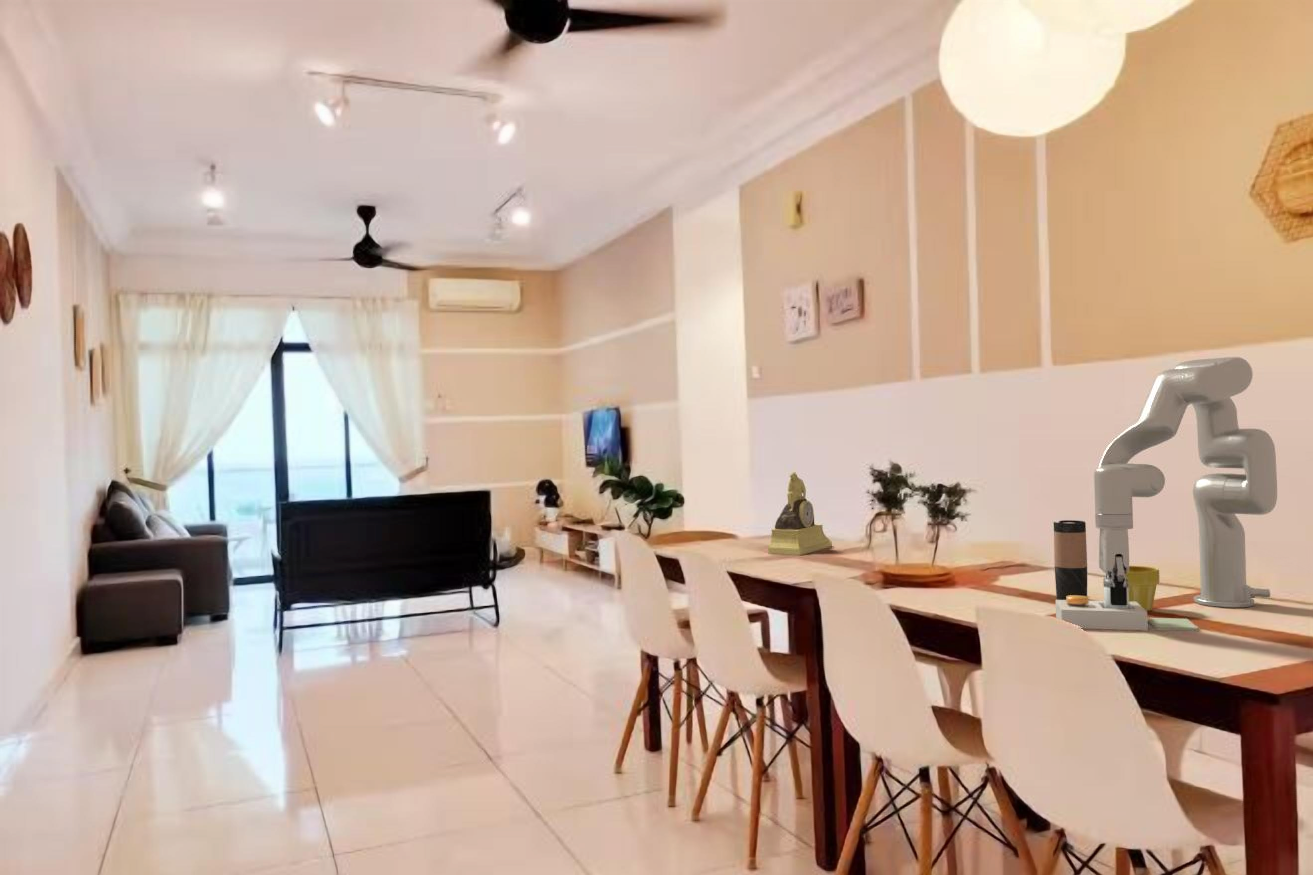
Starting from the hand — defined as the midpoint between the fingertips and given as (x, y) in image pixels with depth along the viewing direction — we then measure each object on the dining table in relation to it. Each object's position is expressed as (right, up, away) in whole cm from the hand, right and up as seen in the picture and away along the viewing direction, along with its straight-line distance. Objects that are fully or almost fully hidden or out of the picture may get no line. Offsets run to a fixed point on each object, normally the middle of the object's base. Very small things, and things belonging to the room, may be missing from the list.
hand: (1116, 601), depth 204 cm
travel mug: (+3, -5, +29) cm, 30 cm away
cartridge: (0, -5, 0) cm, 5 cm away
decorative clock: (-48, -6, +143) cm, 151 cm away
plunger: (-7, -4, +2) cm, 9 cm away
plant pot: (+13, -5, +15) cm, 20 cm away
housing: (-3, -5, +1) cm, 6 cm away
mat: (+11, -5, -3) cm, 12 cm away
